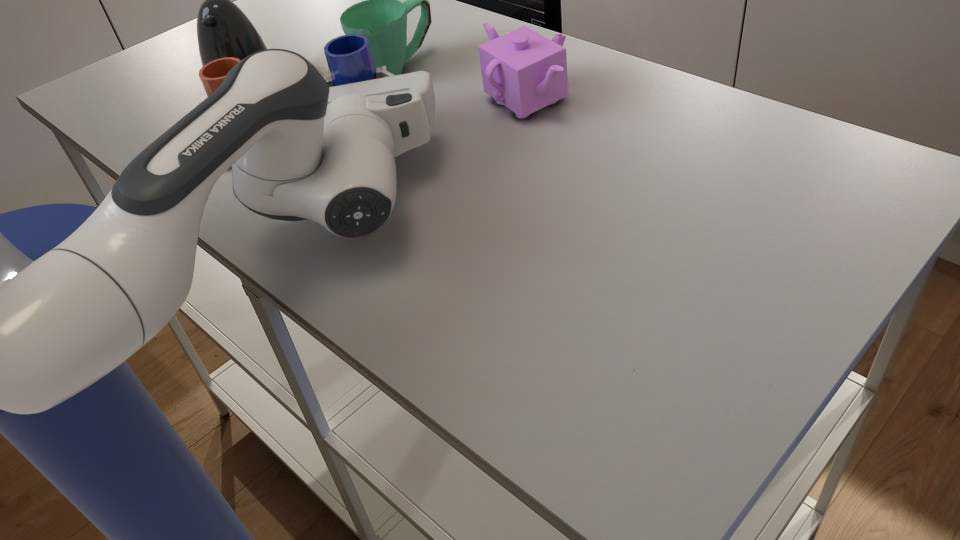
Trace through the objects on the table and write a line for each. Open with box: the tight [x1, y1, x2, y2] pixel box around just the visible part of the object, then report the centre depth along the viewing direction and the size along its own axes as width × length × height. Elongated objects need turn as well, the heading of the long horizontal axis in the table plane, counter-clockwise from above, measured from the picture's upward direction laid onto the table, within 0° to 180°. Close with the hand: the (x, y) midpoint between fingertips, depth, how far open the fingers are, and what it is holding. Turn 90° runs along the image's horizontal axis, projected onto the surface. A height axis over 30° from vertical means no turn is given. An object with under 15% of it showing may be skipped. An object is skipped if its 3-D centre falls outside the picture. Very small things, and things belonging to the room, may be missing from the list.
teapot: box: [477, 22, 569, 119], centre depth 104 cm, size 18×13×10 cm
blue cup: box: [323, 34, 377, 86], centre depth 101 cm, size 6×6×11 cm
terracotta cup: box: [198, 57, 241, 97], centre depth 105 cm, size 6×6×11 cm
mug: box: [339, 0, 432, 75], centre depth 115 cm, size 15×10×10 cm
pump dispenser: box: [196, 0, 268, 67], centre depth 114 cm, size 10×10×15 cm
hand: (355, 75), depth 101 cm, fingers closed on blue cup, 6 cm apart
